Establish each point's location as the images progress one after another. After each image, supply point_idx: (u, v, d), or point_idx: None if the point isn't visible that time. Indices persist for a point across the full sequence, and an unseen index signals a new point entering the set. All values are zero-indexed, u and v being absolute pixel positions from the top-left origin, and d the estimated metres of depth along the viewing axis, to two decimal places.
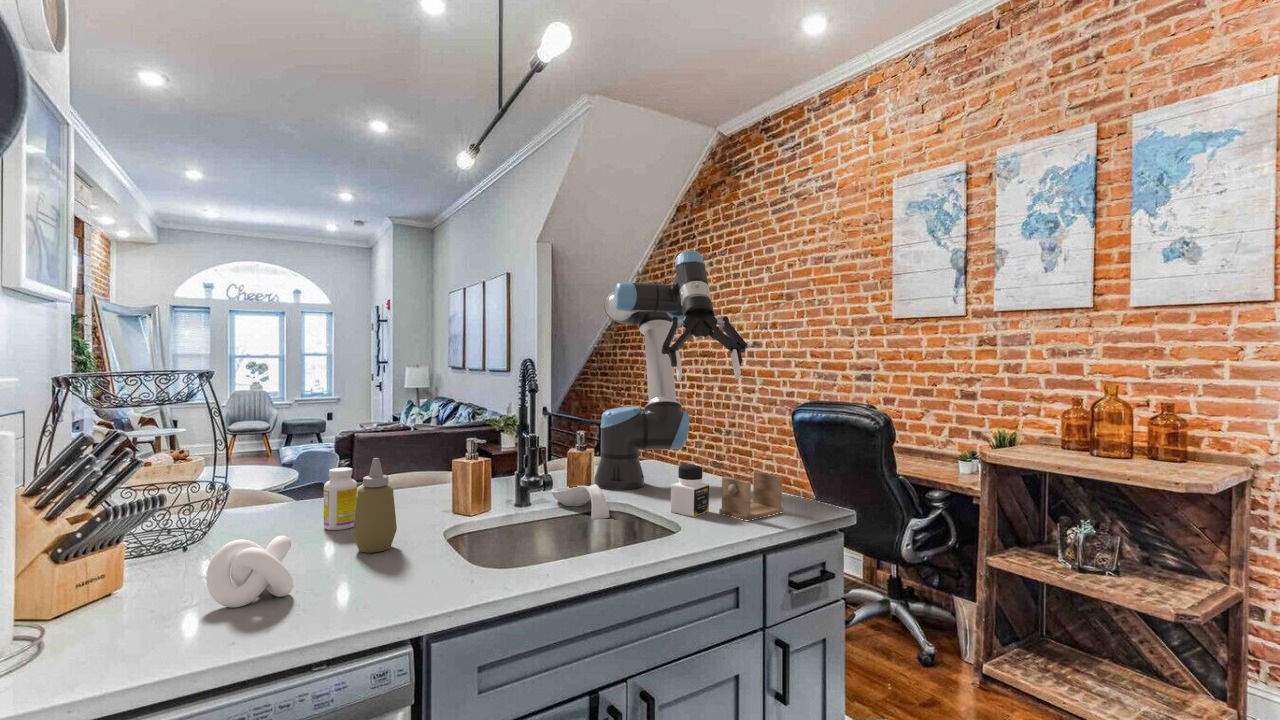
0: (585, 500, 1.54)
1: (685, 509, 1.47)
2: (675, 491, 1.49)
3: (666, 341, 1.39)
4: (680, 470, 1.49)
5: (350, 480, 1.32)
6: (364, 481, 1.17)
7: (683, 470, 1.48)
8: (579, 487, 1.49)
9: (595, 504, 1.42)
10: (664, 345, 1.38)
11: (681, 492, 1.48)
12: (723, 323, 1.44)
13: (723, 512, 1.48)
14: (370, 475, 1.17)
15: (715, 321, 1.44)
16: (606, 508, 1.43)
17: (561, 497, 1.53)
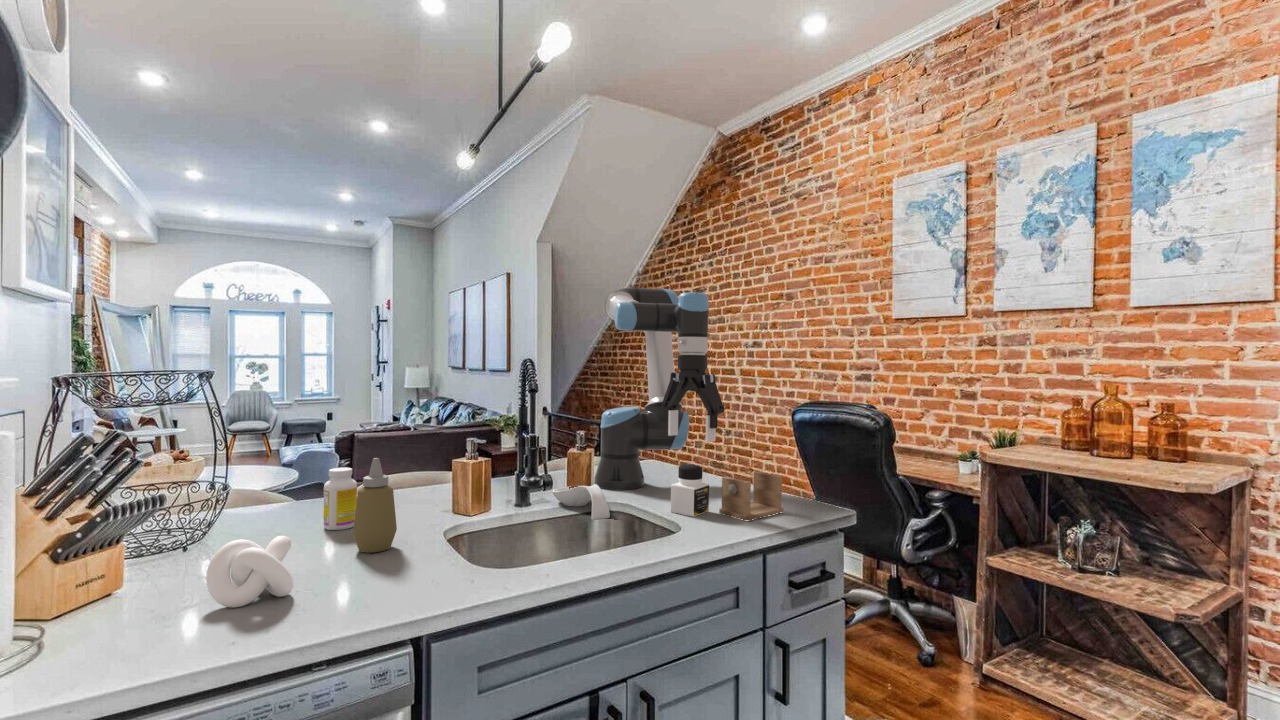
0: (586, 500, 1.54)
1: (685, 509, 1.47)
2: (675, 491, 1.49)
3: (664, 399, 1.57)
4: (680, 470, 1.49)
5: (350, 480, 1.32)
6: (364, 481, 1.17)
7: (683, 470, 1.48)
8: (580, 487, 1.49)
9: (595, 504, 1.42)
10: (662, 403, 1.57)
11: (681, 492, 1.48)
12: None
13: (723, 512, 1.48)
14: (370, 475, 1.17)
15: (699, 379, 1.47)
16: (606, 508, 1.43)
17: (562, 497, 1.53)
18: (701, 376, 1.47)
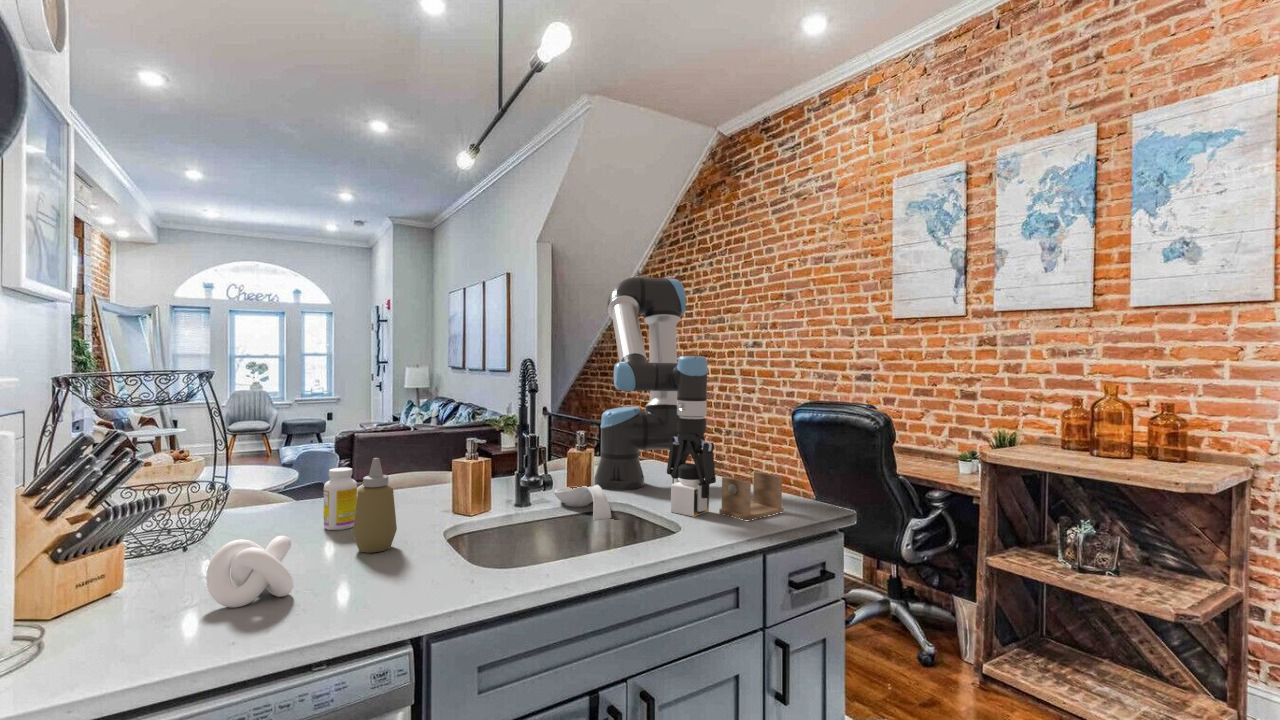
0: (588, 501, 1.54)
1: (685, 509, 1.47)
2: (675, 491, 1.49)
3: (668, 466, 1.55)
4: (680, 470, 1.49)
5: (350, 480, 1.32)
6: (364, 481, 1.17)
7: (683, 470, 1.48)
8: (581, 488, 1.48)
9: (597, 504, 1.42)
10: (667, 471, 1.55)
11: (681, 491, 1.48)
12: None
13: (723, 512, 1.48)
14: (370, 475, 1.17)
15: (697, 444, 1.47)
16: (608, 509, 1.43)
17: (563, 497, 1.53)
18: (700, 442, 1.47)
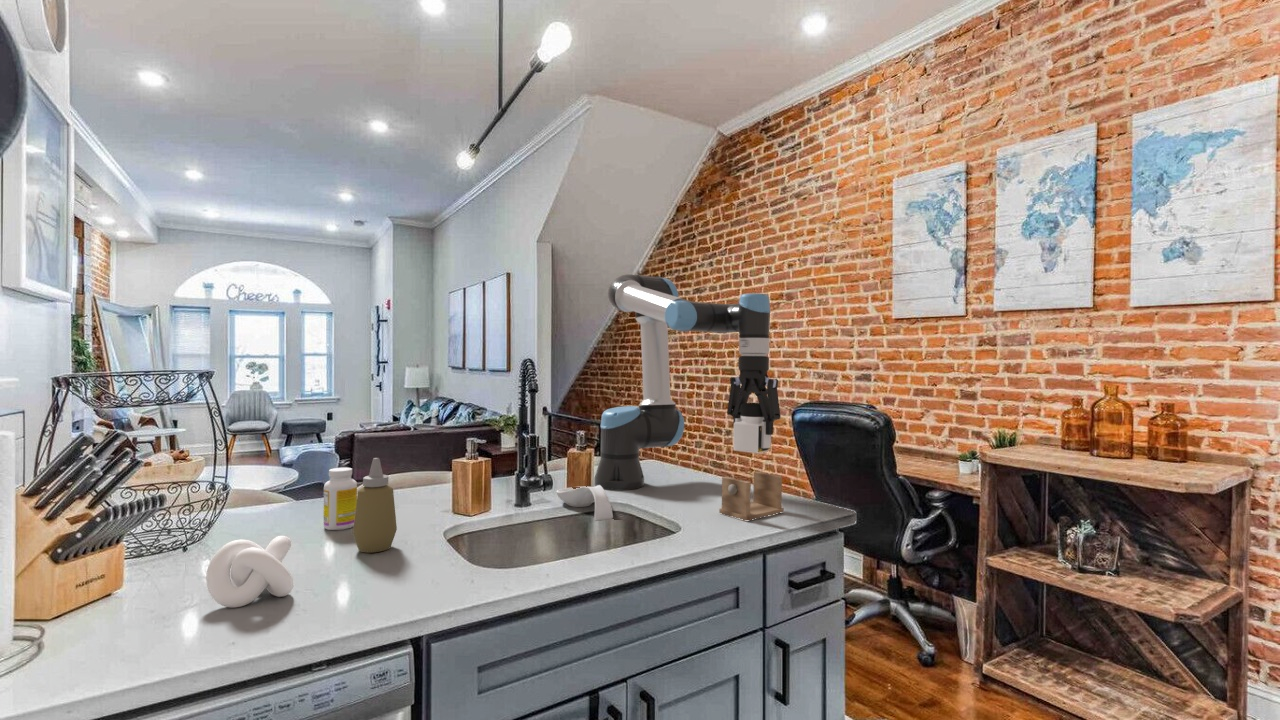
0: (590, 501, 1.53)
1: (749, 446, 1.46)
2: (738, 429, 1.48)
3: (729, 406, 1.55)
4: (743, 408, 1.48)
5: (350, 480, 1.32)
6: (364, 481, 1.17)
7: (746, 408, 1.48)
8: (583, 488, 1.48)
9: (598, 505, 1.42)
10: (728, 411, 1.55)
11: (744, 429, 1.47)
12: None
13: (723, 512, 1.48)
14: (370, 475, 1.17)
15: (761, 381, 1.47)
16: (609, 509, 1.42)
17: (565, 497, 1.53)
18: (764, 378, 1.46)
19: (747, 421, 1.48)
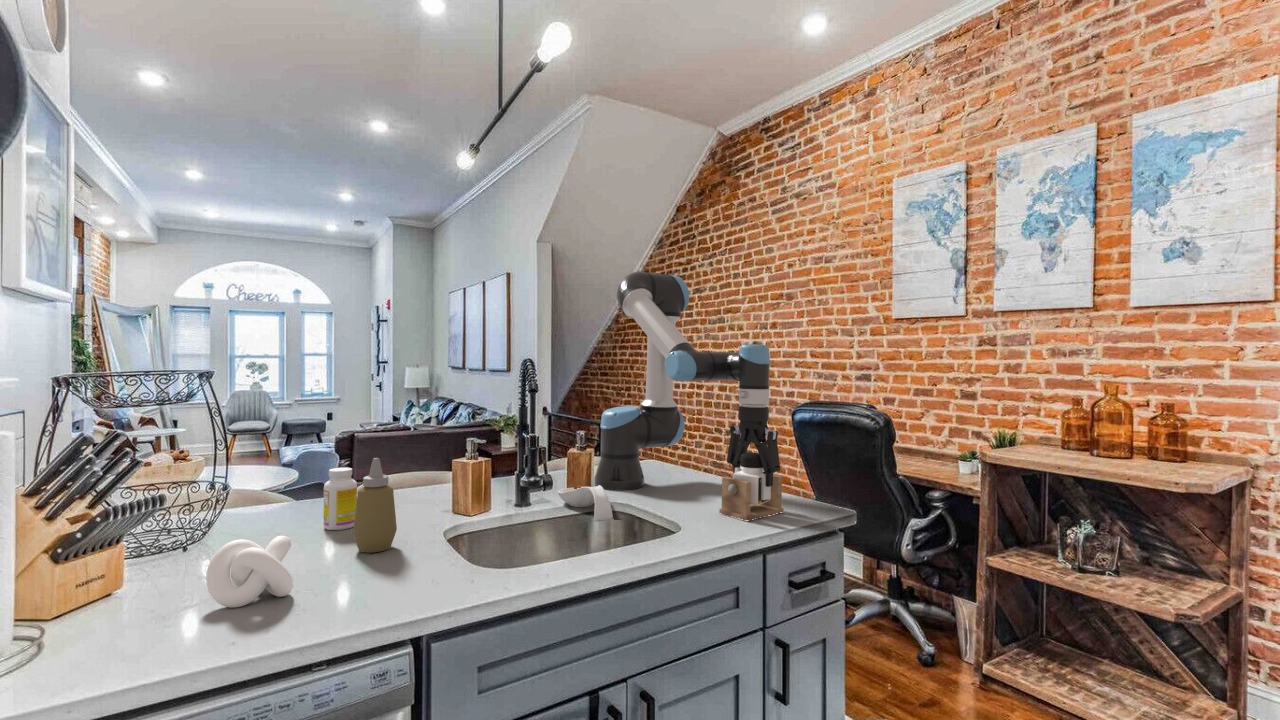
0: (591, 501, 1.53)
1: None
2: None
3: (728, 455, 1.55)
4: (743, 458, 1.49)
5: (350, 480, 1.32)
6: (364, 481, 1.17)
7: (746, 459, 1.48)
8: (584, 488, 1.48)
9: (598, 505, 1.41)
10: (727, 460, 1.55)
11: (744, 480, 1.47)
12: None
13: (723, 512, 1.48)
14: (370, 475, 1.17)
15: (761, 432, 1.47)
16: (609, 509, 1.42)
17: (566, 497, 1.53)
18: (764, 430, 1.46)
19: (747, 472, 1.48)
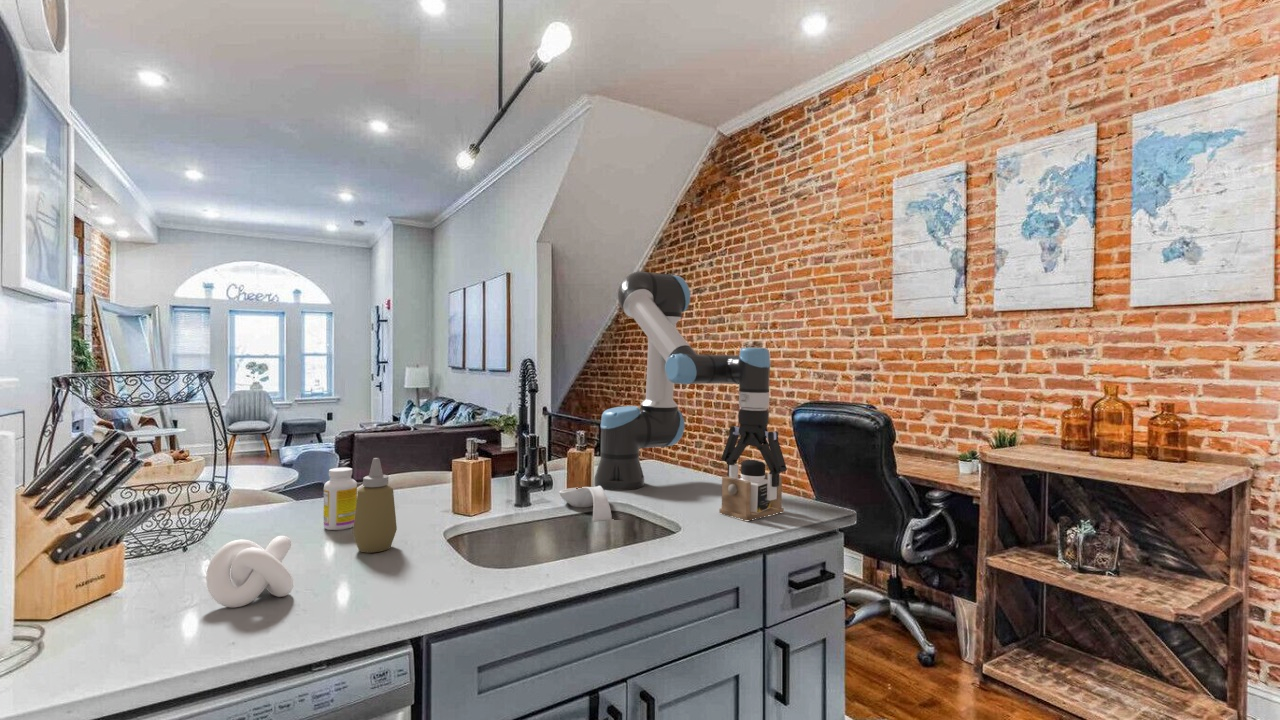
0: (592, 501, 1.53)
1: None
2: None
3: (724, 453, 1.56)
4: (743, 466, 1.49)
5: (350, 480, 1.32)
6: (364, 481, 1.17)
7: (746, 467, 1.48)
8: (583, 488, 1.48)
9: (597, 505, 1.41)
10: (722, 457, 1.57)
11: None
12: (768, 439, 1.45)
13: (723, 512, 1.48)
14: (370, 475, 1.17)
15: (761, 435, 1.47)
16: (608, 510, 1.41)
17: (567, 497, 1.52)
18: (764, 432, 1.47)
19: (747, 480, 1.48)
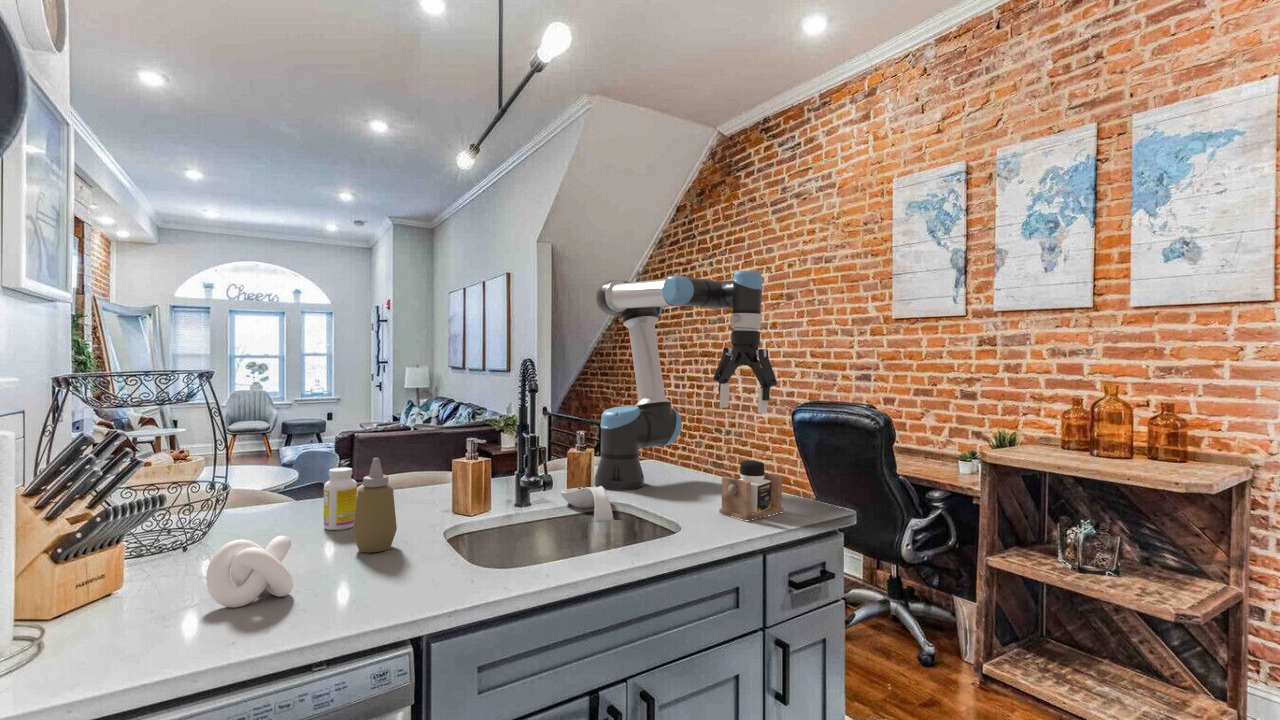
0: (593, 502, 1.53)
1: None
2: None
3: (716, 373, 1.64)
4: (742, 466, 1.49)
5: (350, 480, 1.32)
6: (364, 481, 1.17)
7: (746, 467, 1.48)
8: (585, 489, 1.47)
9: (598, 506, 1.41)
10: (714, 377, 1.65)
11: None
12: (758, 356, 1.53)
13: (723, 512, 1.48)
14: (370, 475, 1.17)
15: (752, 354, 1.54)
16: (609, 510, 1.41)
17: (569, 498, 1.52)
18: (754, 351, 1.54)
19: (746, 480, 1.48)
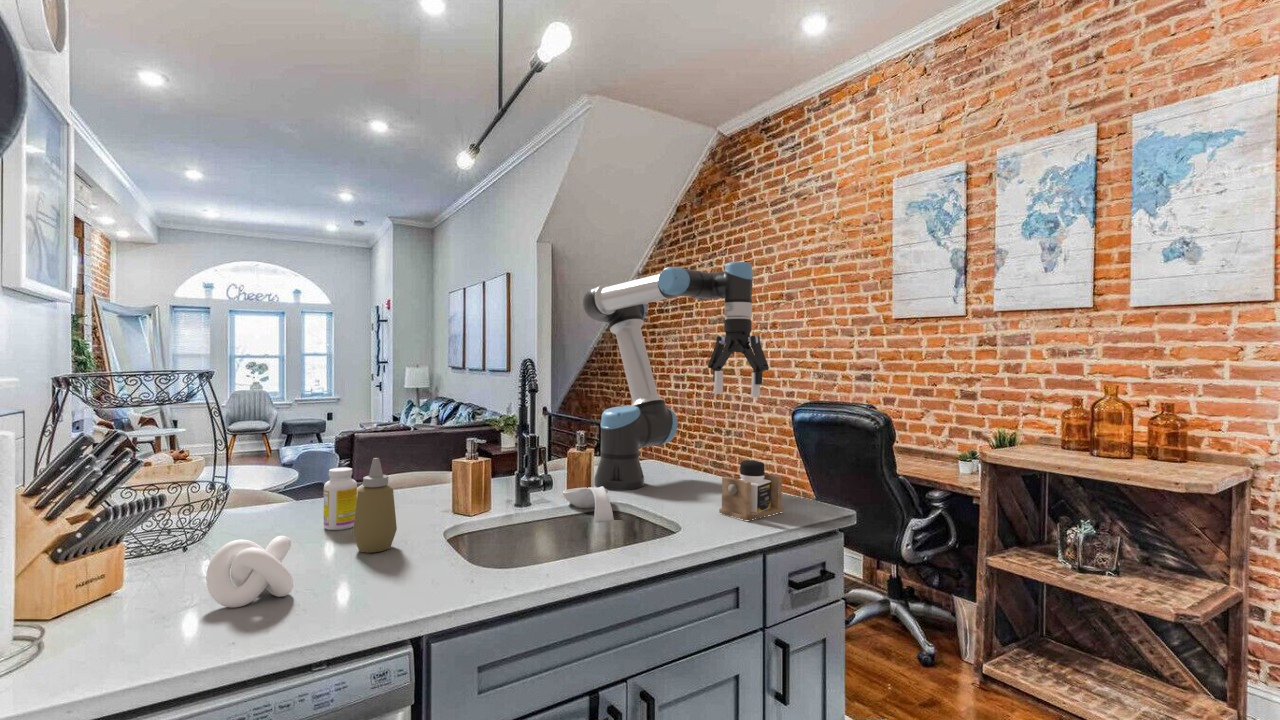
0: (595, 502, 1.52)
1: None
2: None
3: (710, 361, 1.71)
4: (742, 466, 1.49)
5: (350, 480, 1.32)
6: (364, 481, 1.17)
7: (746, 467, 1.48)
8: (586, 489, 1.47)
9: (598, 506, 1.40)
10: (708, 365, 1.72)
11: None
12: (751, 342, 1.60)
13: (723, 512, 1.48)
14: (370, 475, 1.17)
15: (744, 341, 1.62)
16: (610, 511, 1.41)
17: (570, 498, 1.52)
18: (747, 338, 1.61)
19: (746, 480, 1.48)
